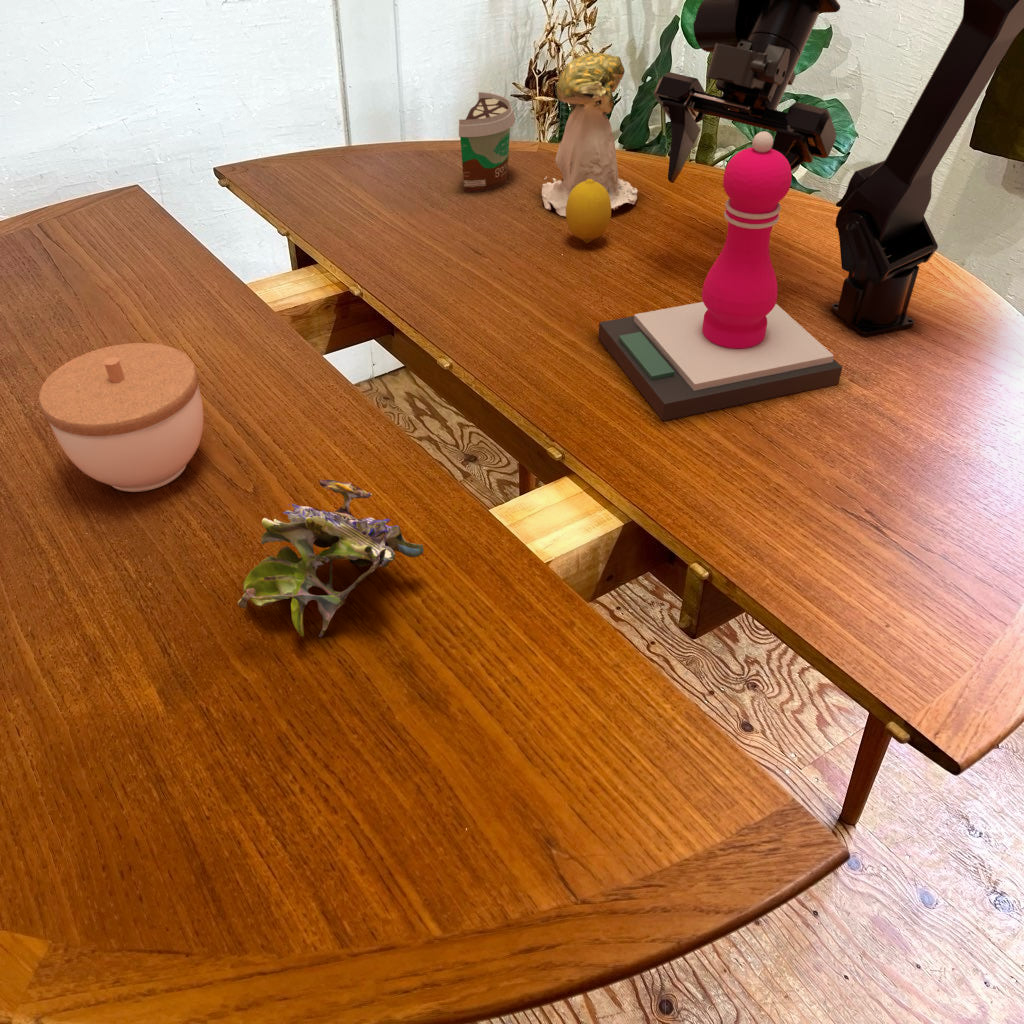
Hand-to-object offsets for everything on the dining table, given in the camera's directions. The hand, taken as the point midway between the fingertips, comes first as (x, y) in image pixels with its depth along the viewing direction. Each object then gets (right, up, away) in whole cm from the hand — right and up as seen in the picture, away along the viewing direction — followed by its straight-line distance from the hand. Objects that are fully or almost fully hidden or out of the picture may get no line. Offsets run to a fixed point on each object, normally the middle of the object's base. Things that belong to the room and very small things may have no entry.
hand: (708, 192), depth 100 cm
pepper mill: (+2, -15, -3) cm, 16 cm away
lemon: (-11, 0, +19) cm, 22 cm away
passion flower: (-34, -40, -27) cm, 59 cm away
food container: (-23, +13, +35) cm, 44 cm away
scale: (0, -18, -2) cm, 18 cm away
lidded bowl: (-53, -29, -14) cm, 62 cm away
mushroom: (-10, +9, +29) cm, 32 cm away
